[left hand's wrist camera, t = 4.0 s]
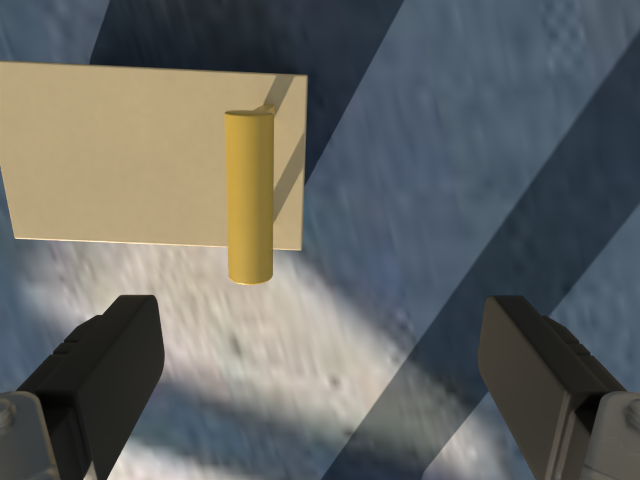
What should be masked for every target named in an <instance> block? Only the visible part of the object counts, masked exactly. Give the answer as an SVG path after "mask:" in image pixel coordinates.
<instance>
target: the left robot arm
mask: <svg viewBox="0 0 640 480" xmlns="http://www.w3.org/2000/svg"><path fill="white" fill-rule="evenodd" d="M164 358H165V353H164V344H163V337H162V330H161V323H160V316H159V309H158V303H157V300H156V298H155V296H154V295H120V296H119V297H118V298H117V299H116V300H115V301H114V302H113V303H112V305H111V306H110V307H109V308H108V309H107V310H106V311H105V312H104V313H103V315H96V316H95V317H93V318H91V319H89V320H88V321H86V322H84V323H83V324H81V325H79V326H77V327H76V328H75V329H74V330H73V331H72V333H71V334H70V335H69V336H68V337H67V338H66V339H65V340H64V343H61V344H60V345H59V346H58V347H57V348H56V349H55V350H54V351H53V355H50V356H49V357H48V358H47V359H46V360H45V361H44V362H43V363H42V364H41V365H40V366H39V367H38V368H37V369H36V370H35V371H34V372H33V373H32V374H31V375H30V376H29V378H28V379H27V380H26V381H25V382H24V383H23V384H22V385H21V386H20V387H19V388H18V389H17V390H16V391H11V392H4V393H0V480H107V478H108V476H109V474H110V472H111V470H112V469H113V467H114V465H115V463H116V461H117V459H118V457H119V455H120V453H121V451H122V449H123V448H124V446H125V444H126V442H127V440H128V438H129V436H130V434H131V432H132V430H133V428H134V427H135V425H136V423H137V421H138V419H139V417H140V415H141V413H142V411H143V409H144V407H145V406H146V404H147V402H148V400H149V398H150V396H151V394H152V392H153V390H154V388H155V387H156V385H157V383H158V381H159V379H160V377H161V374H162V371H163V367H164ZM478 365H479V371H480V374H481V377H482V379H483V381H484V383H485V385H486V386H487V388H488V390H489V392H490V394H491V396H492V398H493V400H494V402H495V403H496V405H497V407H498V409H499V411H500V413H501V415H502V417H503V419H504V420H505V422H506V424H507V426H508V428H509V430H510V432H511V434H512V435H513V437H514V439H515V441H516V443H517V445H518V447H519V449H520V451H521V452H522V454H523V456H524V458H525V460H526V462H527V464H528V466H529V468H530V469H531V471H532V473H533V475H534V477H535V479H536V480H640V393H636V392H629V391H627V390H626V389H625V388H624V387H623V386H622V385H621V384H620V383H619V382H618V381H617V380H616V379H615V378H614V377H613V376H612V375H611V374H610V373H609V372H608V371H607V370H606V369H605V368H604V366H603V365H602V364H601V363H600V362H599V361H598V360H597V359H596V358H595V357H594V356H591V355H590V352H589V351H588V350H587V349H586V348H585V347H584V346H583V345H582V344H579V341H578V340H577V338H576V337H575V336H574V335H573V334H572V333H571V332H570V331H569V330H568V329H567V328H566V327H564V326H562V325H561V324H559V323H557V322H556V321H554V320H552V319H550V318H549V317H547V316H541V315H540V314H539V313H538V312H537V311H536V310H535V309H534V308H533V307H532V305H531V304H530V303H529V302H528V301H527V300H526V299H525V298H524V297H523V296H489V297H488V298H487V299H486V302H485V306H484V313H483V320H482V327H481V334H480V341H479V348H478Z"/></svg>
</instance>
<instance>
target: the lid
mask: <svg viewBox="0 0 640 480" xmlns="http://www.w3.org/2000/svg"><path fill="white" fill-rule="evenodd" d="M307 89H308V76H307V75H295V74H275V73H254V72H233V71H212V70H191V69H170V68H149V67H128V66H107V65H86V64H65V63H44V62H23V61H2V60H0V166H1V171H2V176H3V181H4V186H5V191H6V196H7V201H8V206H9V211H10V216H11V221H12V226H13V231H14V236H15V238H18V239H42V240H66V241H90V242H114V243H139V244H163V245H187V246H211V247H228V268H229V278H230V279H231V280H232V281H233V282H235V283H238V284H243V285H257V284H262V283H265V282H267V281H269V280H270V279H271V278H272V276H273V249H284V250H301V249H302V238H303V208H304V178H305V148H306V119H307Z"/></svg>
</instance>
